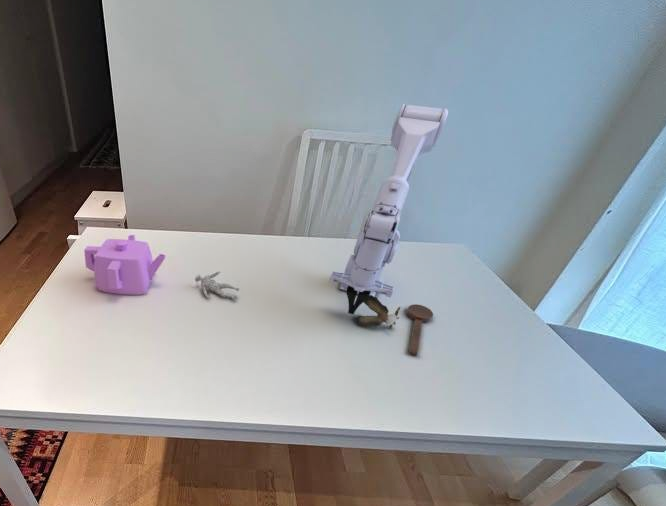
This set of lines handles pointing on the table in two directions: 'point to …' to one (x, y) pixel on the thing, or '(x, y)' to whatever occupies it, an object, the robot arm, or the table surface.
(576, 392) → the table surface
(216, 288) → the soldier figure
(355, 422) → the table surface
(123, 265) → the teakettle
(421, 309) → the round wooden paddle
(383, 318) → the eagle figurine
